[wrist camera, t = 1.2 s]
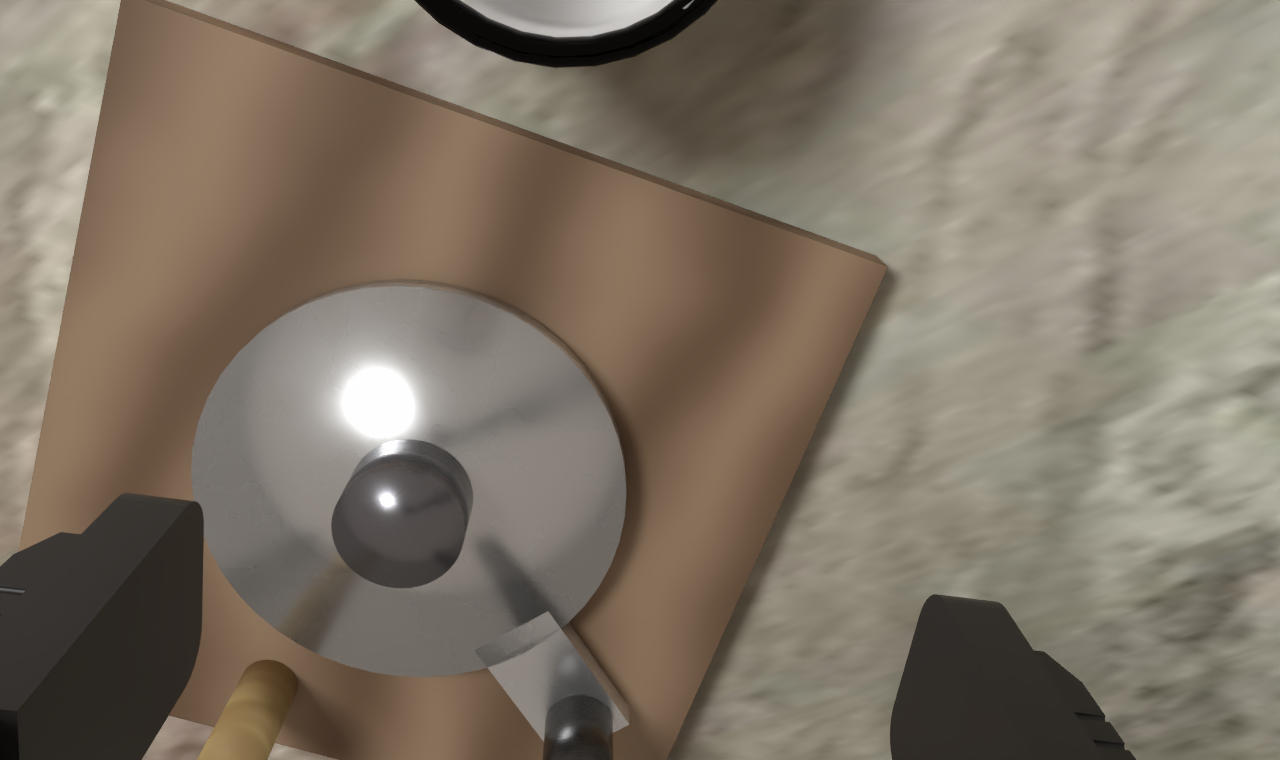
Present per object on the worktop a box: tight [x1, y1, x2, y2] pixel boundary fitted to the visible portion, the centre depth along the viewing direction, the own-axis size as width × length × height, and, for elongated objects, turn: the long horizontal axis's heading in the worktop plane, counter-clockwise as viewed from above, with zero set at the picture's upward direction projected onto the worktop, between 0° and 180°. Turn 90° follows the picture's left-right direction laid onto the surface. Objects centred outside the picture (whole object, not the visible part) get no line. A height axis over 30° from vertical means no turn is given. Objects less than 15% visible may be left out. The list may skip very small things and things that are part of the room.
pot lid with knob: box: [191, 279, 630, 760], centre depth 33 cm, size 19×14×5 cm
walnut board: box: [19, 0, 888, 760], centre depth 34 cm, size 24×24×6 cm
